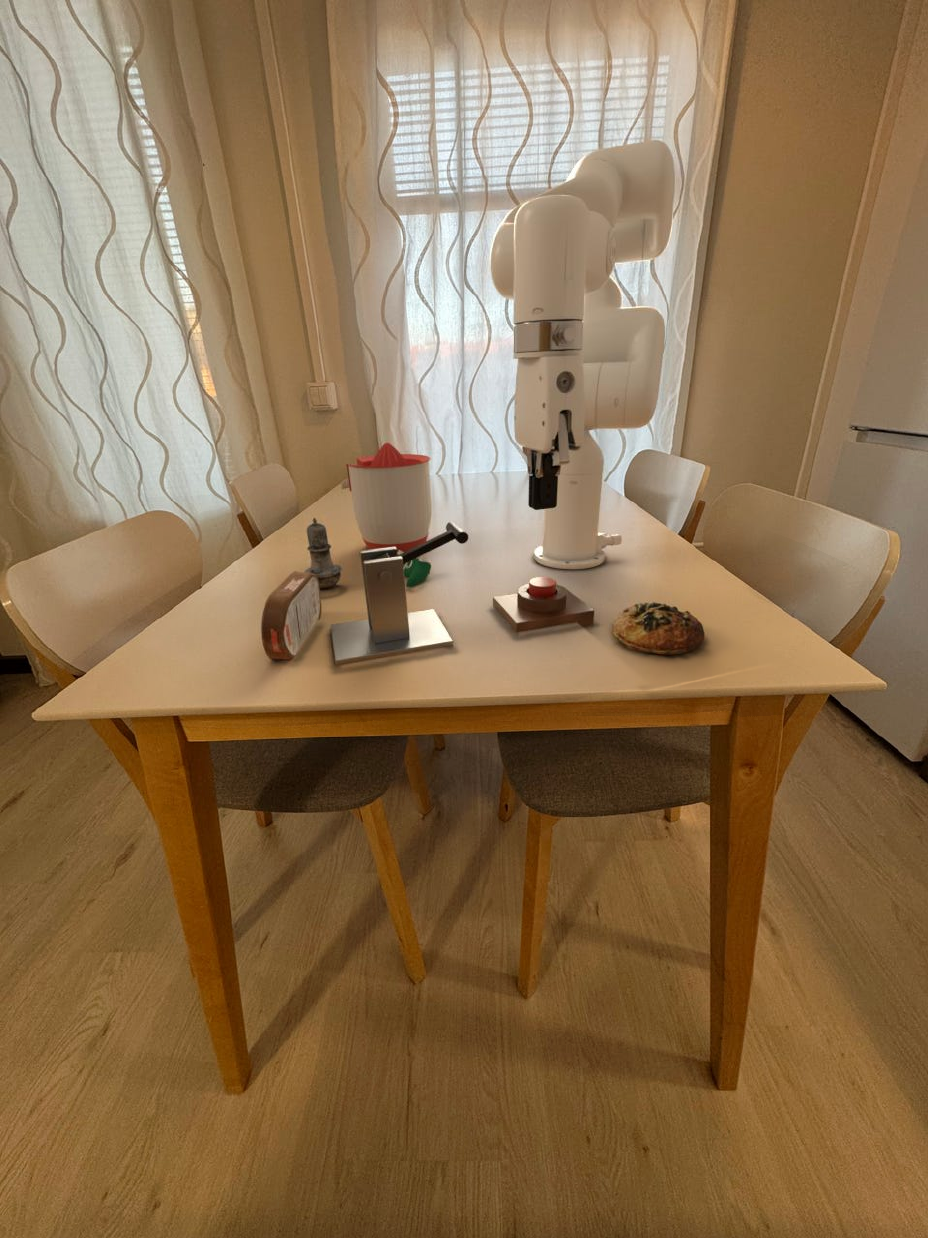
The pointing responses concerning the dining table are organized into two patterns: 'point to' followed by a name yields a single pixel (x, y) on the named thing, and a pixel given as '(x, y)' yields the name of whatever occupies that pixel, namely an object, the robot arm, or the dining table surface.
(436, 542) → the lever
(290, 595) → the tin
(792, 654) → the dining table surface
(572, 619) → the button block
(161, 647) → the dining table surface
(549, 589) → the button
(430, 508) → the citrus juicer
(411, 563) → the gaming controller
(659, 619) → the bread roll
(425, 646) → the bracket
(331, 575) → the salt shaker
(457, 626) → the dining table surface
